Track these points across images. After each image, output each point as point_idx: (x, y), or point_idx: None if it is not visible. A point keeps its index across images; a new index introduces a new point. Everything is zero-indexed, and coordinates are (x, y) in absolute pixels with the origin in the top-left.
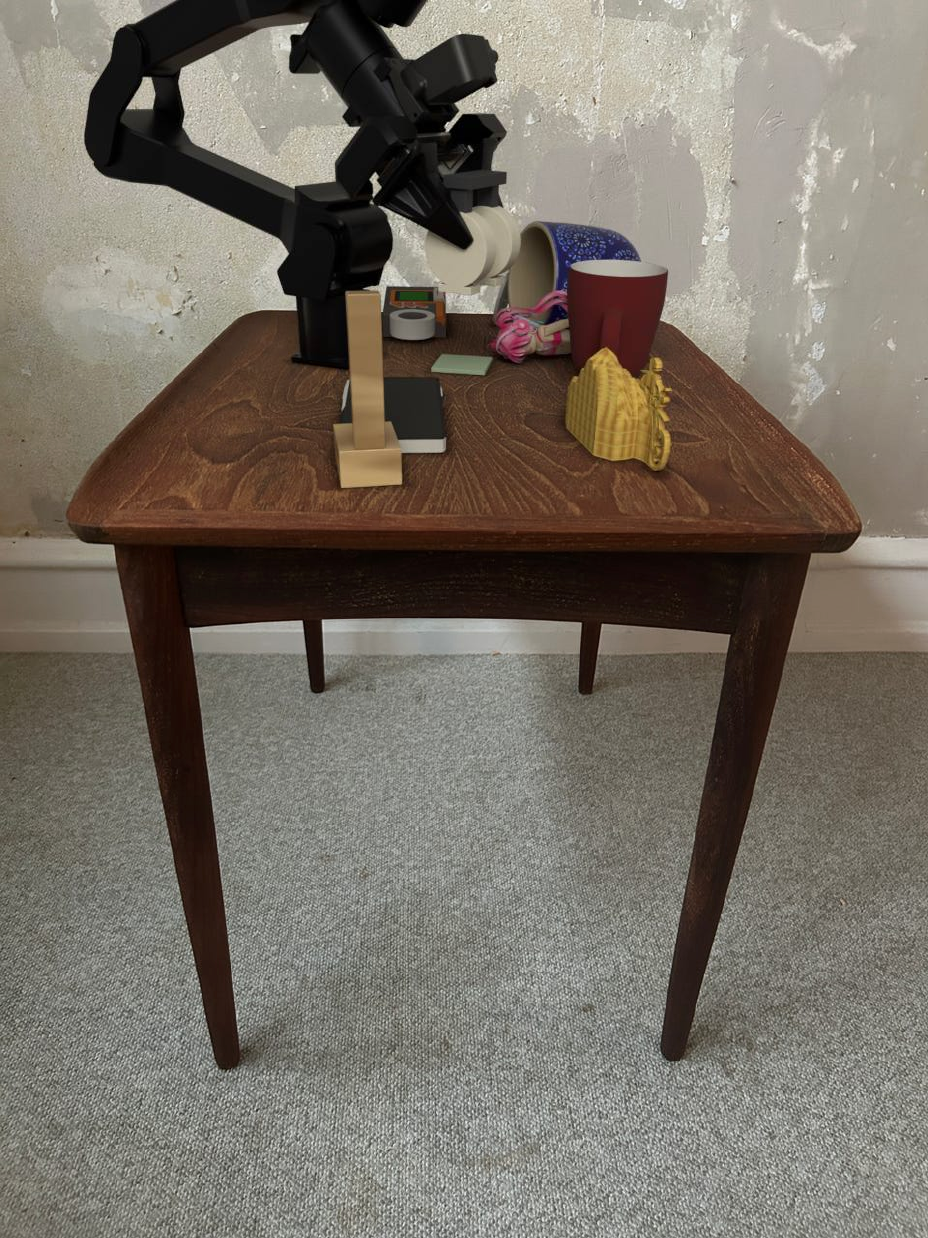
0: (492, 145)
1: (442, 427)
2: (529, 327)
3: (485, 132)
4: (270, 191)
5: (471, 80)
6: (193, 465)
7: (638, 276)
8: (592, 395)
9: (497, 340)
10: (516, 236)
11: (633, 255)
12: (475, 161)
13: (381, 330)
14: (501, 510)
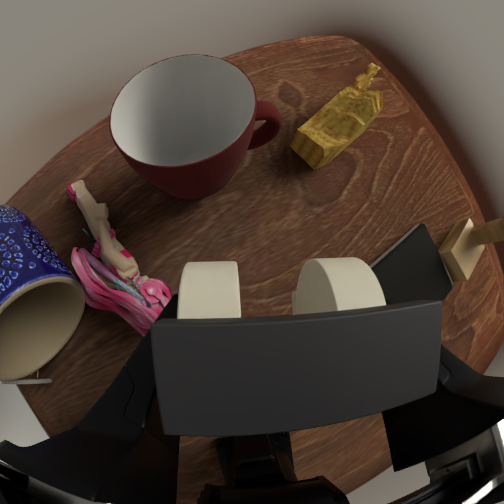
0: (37, 456)
1: (409, 236)
2: (145, 282)
3: (19, 502)
4: None
5: None
6: (478, 338)
7: (121, 113)
8: (372, 119)
9: None
10: (207, 262)
11: None
12: (136, 474)
13: None
14: (443, 162)
